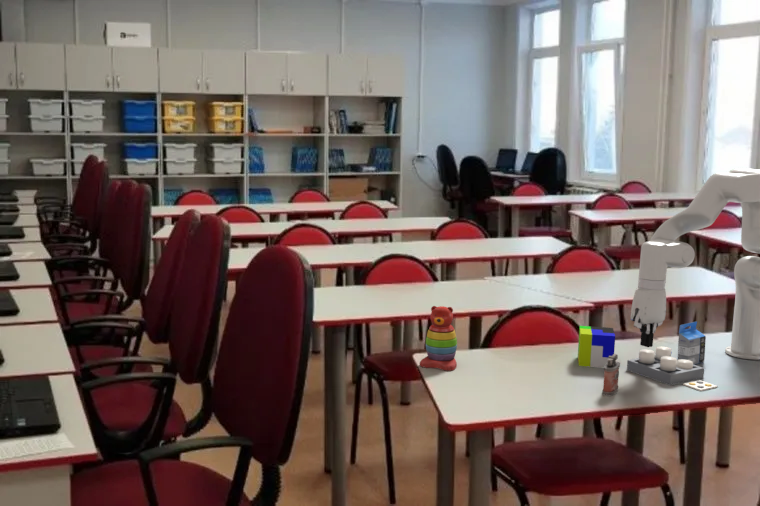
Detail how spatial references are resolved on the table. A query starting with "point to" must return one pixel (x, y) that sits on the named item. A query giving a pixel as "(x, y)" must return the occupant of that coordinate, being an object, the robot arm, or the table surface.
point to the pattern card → (700, 385)
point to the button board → (665, 372)
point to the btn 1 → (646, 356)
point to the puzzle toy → (595, 345)
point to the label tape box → (691, 343)
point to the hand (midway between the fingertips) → (646, 345)
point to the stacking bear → (441, 340)
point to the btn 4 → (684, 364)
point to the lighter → (611, 376)
